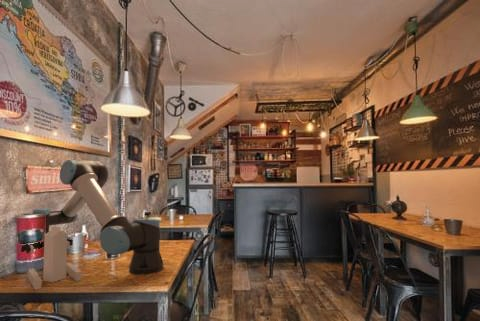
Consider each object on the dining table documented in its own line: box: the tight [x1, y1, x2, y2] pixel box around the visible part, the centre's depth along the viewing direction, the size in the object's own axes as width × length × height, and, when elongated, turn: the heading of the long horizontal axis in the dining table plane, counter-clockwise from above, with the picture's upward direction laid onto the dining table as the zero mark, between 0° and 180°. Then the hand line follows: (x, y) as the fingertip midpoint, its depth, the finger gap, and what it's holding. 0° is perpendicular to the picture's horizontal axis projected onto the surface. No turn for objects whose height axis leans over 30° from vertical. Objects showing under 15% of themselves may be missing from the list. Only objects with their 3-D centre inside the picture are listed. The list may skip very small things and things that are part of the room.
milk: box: [42, 225, 68, 283], centre depth 125 cm, size 6×6×22 cm
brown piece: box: [27, 261, 82, 291], centre depth 125 cm, size 20×16×4 cm
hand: (51, 248), depth 131 cm, fingers open, 13 cm apart
